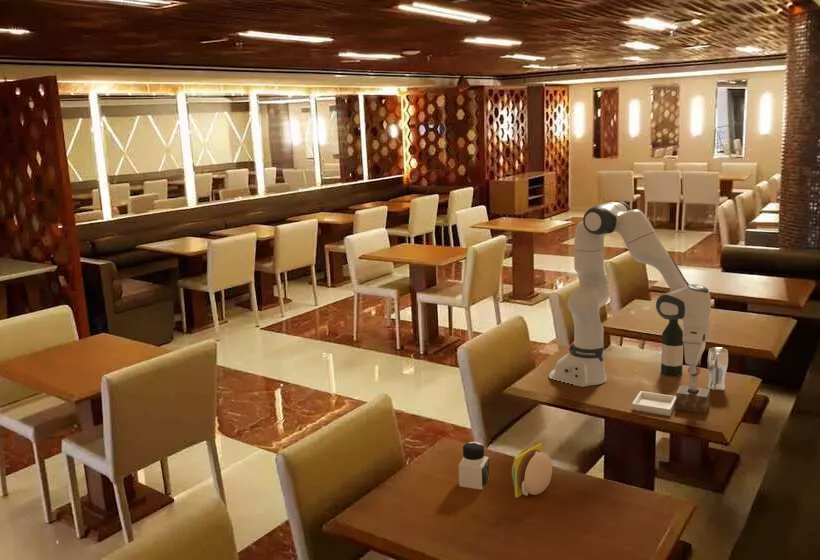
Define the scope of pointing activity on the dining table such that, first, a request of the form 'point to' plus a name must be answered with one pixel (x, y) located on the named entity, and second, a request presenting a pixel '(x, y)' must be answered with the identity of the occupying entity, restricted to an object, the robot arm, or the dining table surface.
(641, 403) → the tray
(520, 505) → the dining table surface
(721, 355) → the beer glass
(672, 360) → the wine bottle
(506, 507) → the dining table surface
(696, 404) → the block
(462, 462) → the medicine bottle
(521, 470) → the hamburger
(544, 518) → the dining table surface
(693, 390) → the pin
